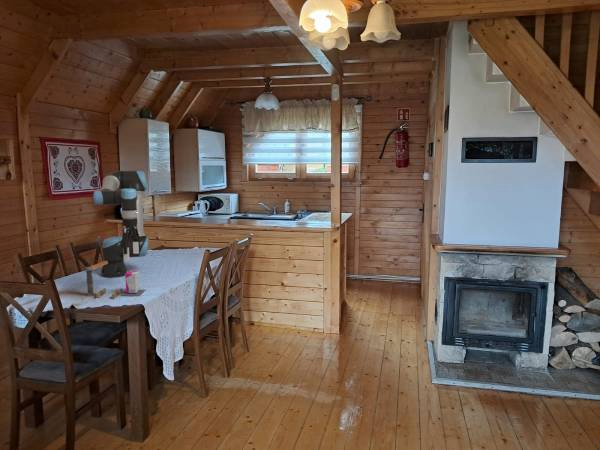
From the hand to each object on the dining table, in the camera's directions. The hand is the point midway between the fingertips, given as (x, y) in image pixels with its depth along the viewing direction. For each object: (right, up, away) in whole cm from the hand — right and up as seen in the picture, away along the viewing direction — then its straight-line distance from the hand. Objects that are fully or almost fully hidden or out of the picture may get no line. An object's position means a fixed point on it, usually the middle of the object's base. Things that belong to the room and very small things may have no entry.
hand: (131, 256), depth 243 cm
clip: (-20, -6, +3) cm, 21 cm away
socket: (-15, -21, -1) cm, 26 cm away
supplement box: (0, -20, +3) cm, 20 cm away
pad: (0, -20, +3) cm, 21 cm away
